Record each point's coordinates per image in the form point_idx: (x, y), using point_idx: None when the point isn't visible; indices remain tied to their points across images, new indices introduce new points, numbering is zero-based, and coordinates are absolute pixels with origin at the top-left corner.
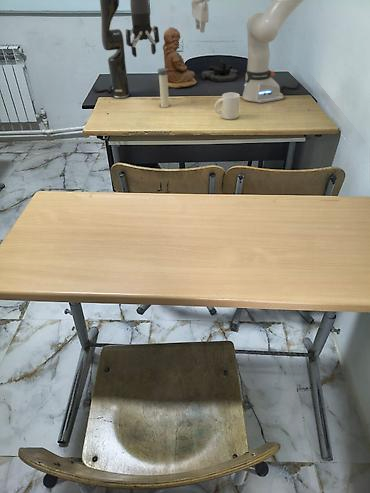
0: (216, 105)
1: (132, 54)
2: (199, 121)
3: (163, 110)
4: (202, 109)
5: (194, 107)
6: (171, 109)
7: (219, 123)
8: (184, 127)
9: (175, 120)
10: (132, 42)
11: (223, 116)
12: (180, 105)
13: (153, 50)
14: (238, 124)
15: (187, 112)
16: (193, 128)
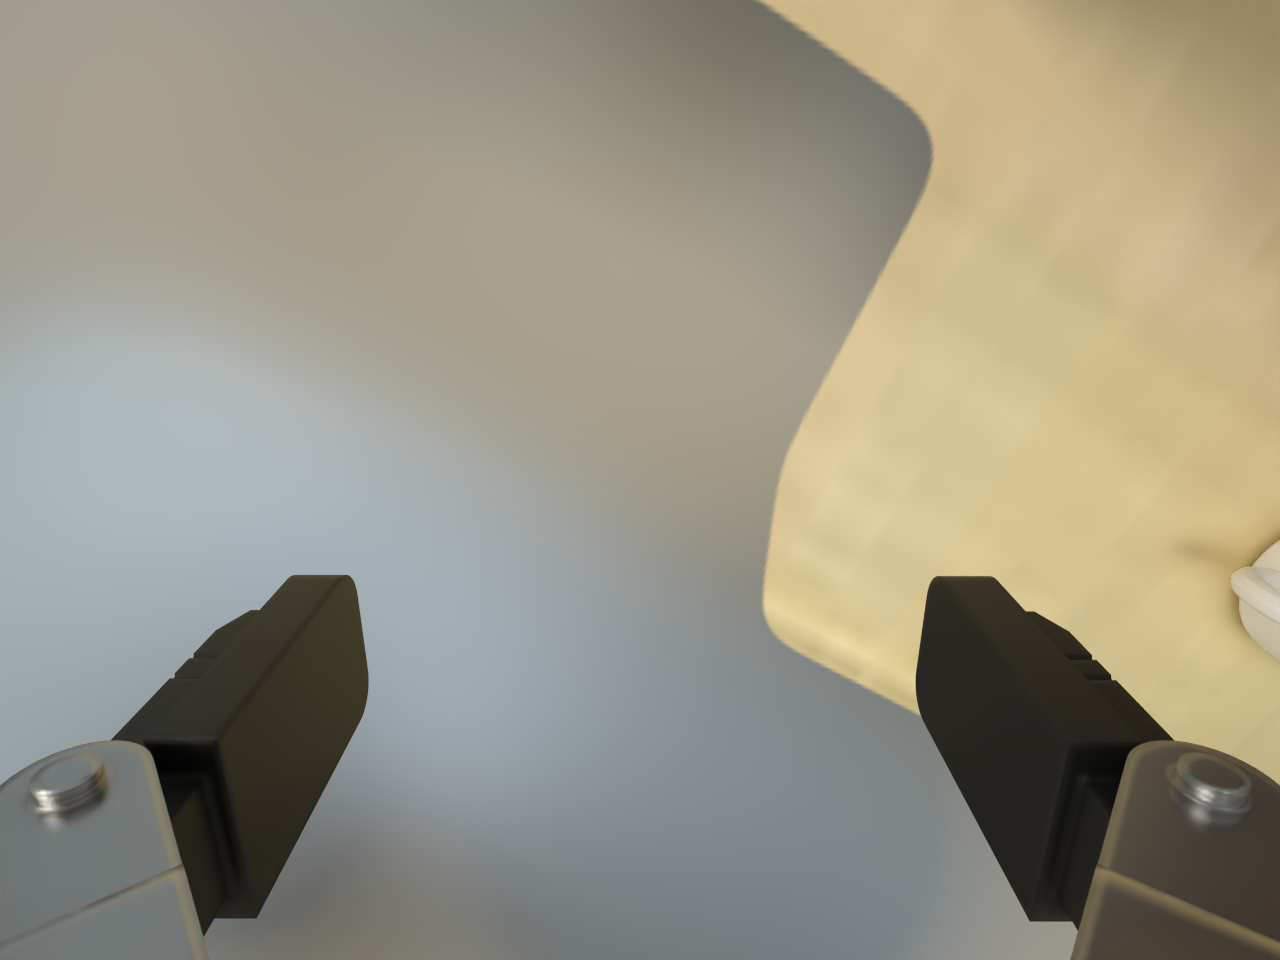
0: (1274, 620)
1: (235, 636)
2: (1028, 542)
3: (907, 66)
4: (1267, 276)
5: (1247, 169)
6: (1000, 85)
7: (1133, 655)
8: (845, 593)
9: (863, 415)
10: (30, 926)
11: (1246, 604)
12: (1169, 4)
13: (961, 781)
14: (1233, 736)
15: (1085, 276)
16: (895, 643)
